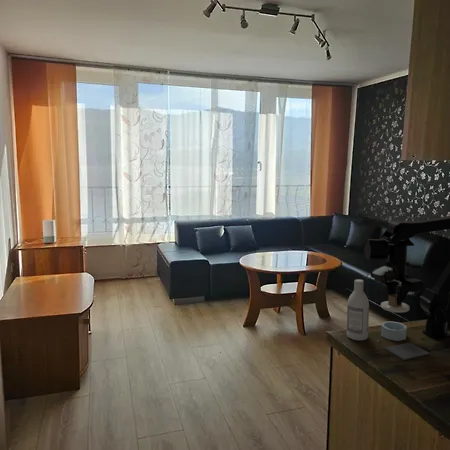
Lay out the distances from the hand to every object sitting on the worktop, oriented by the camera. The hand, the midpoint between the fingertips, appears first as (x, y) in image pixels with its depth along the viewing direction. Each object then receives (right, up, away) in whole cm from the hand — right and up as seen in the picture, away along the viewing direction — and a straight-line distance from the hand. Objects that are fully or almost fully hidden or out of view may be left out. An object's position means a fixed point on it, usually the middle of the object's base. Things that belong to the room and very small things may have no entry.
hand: (395, 303), depth 137 cm
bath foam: (-12, -12, +1) cm, 17 cm away
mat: (-1, -13, -10) cm, 17 cm away
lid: (0, -2, 0) cm, 2 cm away
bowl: (0, -11, +2) cm, 12 cm away
